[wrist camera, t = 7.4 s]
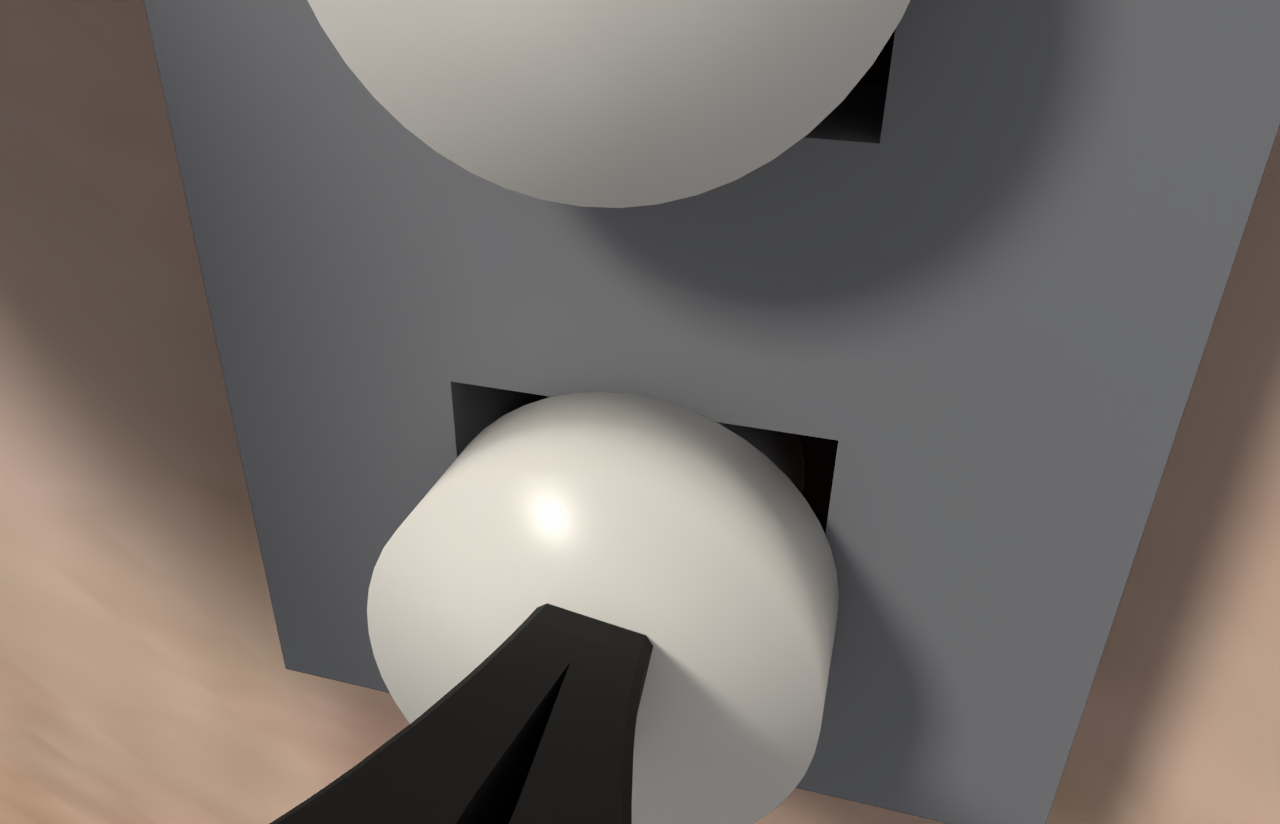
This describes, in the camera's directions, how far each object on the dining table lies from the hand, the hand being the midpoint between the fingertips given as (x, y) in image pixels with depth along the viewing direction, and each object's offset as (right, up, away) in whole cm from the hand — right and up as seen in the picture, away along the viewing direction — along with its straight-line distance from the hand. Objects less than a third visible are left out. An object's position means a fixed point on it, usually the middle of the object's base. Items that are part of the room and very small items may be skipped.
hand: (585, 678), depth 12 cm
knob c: (+1, +2, +4) cm, 5 cm away
